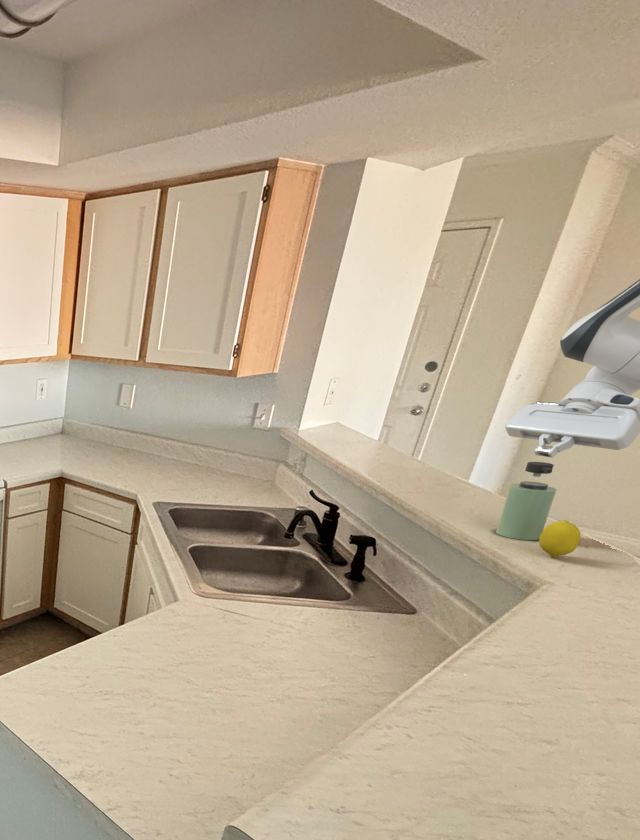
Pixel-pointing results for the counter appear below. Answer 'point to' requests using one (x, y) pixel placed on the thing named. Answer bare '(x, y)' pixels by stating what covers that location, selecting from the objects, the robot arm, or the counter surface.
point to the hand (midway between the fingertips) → (543, 454)
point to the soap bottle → (526, 510)
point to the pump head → (539, 468)
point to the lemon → (559, 538)
